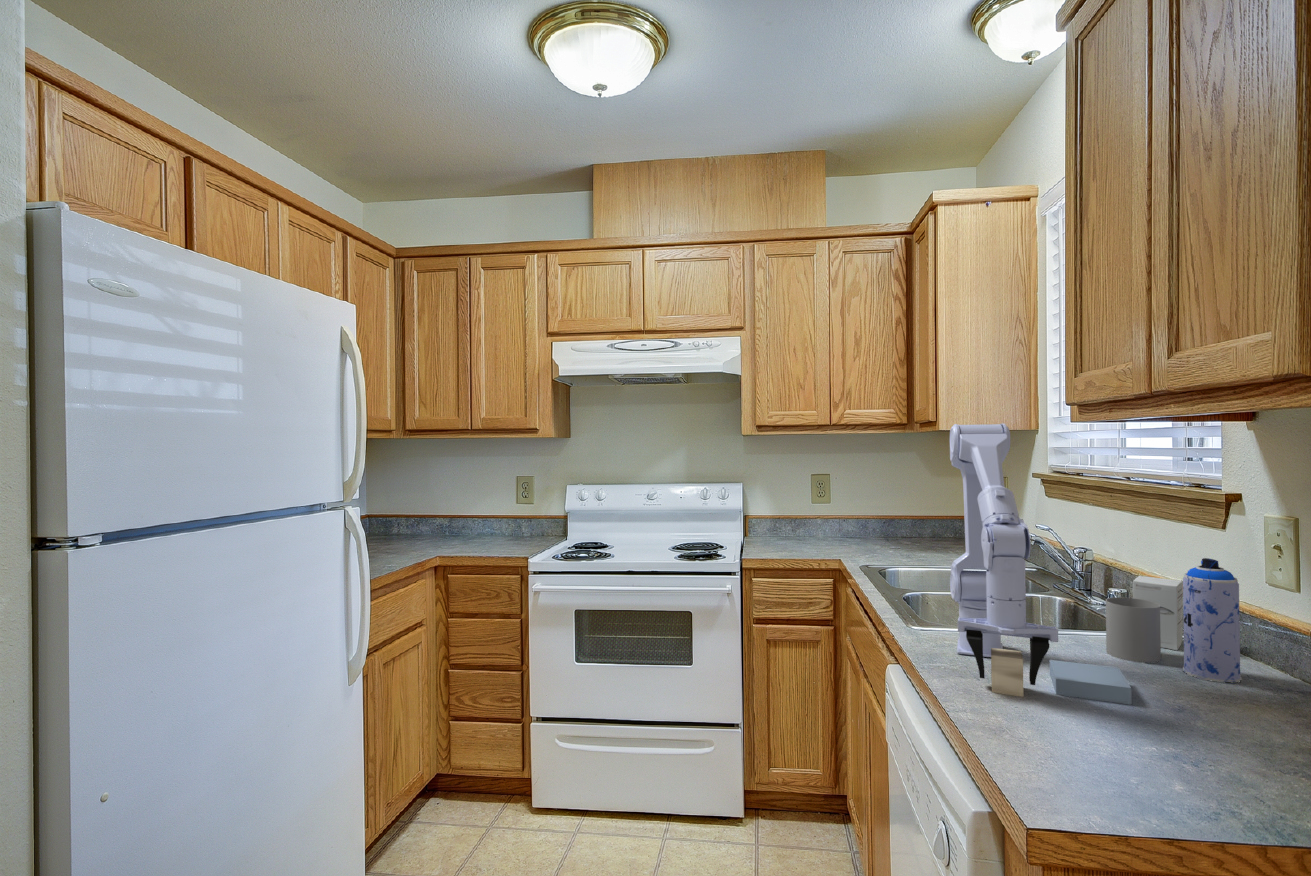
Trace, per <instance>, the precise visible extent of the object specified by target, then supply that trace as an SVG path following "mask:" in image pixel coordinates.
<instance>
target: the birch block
mask: <svg viewBox="0 0 1311 876" xmlns="http://www.w3.org/2000/svg"><path fill="white" fill-rule="evenodd" d="M990 666H991V668H990V670H991V671H990V672H991V673H990V674H991V676H990V677H991V680H990V681H991V693H995V694H1003V695H1009V696H1016V697H1022V698H1023V697H1024V657H1023V652H1022V651H1021V650H1013V649H1005V648H1003V649H997V648H991V657H990Z"/></svg>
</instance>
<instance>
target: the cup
mask: <svg viewBox="0 0 1311 876" xmlns="http://www.w3.org/2000/svg"><path fill="white" fill-rule="evenodd" d="M1105 628H1106V629H1105V632H1106V633H1105V634H1106V635H1105V636H1106V637H1105V638H1106V639H1105V642H1106V643H1105V645H1106V649H1105V651H1106V654H1107V655H1109V656H1111V657H1113V658H1116V659H1119V660H1123V661H1128V662H1132V663H1133V662H1134V663H1142V662H1155V663H1158V661H1159V662H1161V661H1160V660H1162V654H1161V653H1162V651H1161V650H1162V647H1161V634H1160V605H1159V604H1157V603H1155V602H1152V601H1147V600H1142V599H1135V598H1133V597H1124V596H1123V597H1121V596H1116V597H1108V598H1105Z"/></svg>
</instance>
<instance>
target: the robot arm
mask: <svg viewBox="0 0 1311 876" xmlns="http://www.w3.org/2000/svg"><path fill="white" fill-rule="evenodd" d="M1010 449H1011V432H1010V428H1009V427H1008V426H1007V424H1006V423H999V424H998V423H995V424H988V423H987V424H986V423H985V424H984V423H983V424H958V423H955V424H953V425H952V426H951V428H950V430H949V459H950V462H951V466H952V467H953V468H956V469H958V470H960V474H961V478H962V486H963V487H962V488H963V491H962V492H963V493H962V494H963V513H964V515H963V516H964V517H963V518H964V541H965V542H964V544H965V552H964V553H963V554H962V555H960V556H958V557H957V558H956V559H954V560H953V561H952V562H951V565H950V575H949V588H950V596H951V599H952V600H953V601H954V602H955V603H958V614H959V615H958V618H957V632H959V637H958V638H957V645H956V653H957V654H959V655H960V654H961V655H967V656H968V655H969V656H974V658H975V662H976V665H977V667H978V672H979V678H980V679H985V662H984V657H986V658H991V648H997V649H1004V647H1003V643H1002V639H1001V638H1002V637H1001V636H1005V637H1015V638H1025V639H1029V651H1030V652H1029V655H1030V661H1029V662H1030V663H1029V673H1028V674H1029V675H1028V676H1029V679H1028V680H1029V685H1031V686H1036V681H1037V676H1038V672H1039V669H1040V667H1041V664H1042V662H1043V660H1044V658H1045V657H1046V655H1047V653H1048V652H1049V650H1050V642H1051V643H1059V630H1058V627H1057V626H1048V625H1043V624H1037V623H1030V622H1027V604H1026V603H1027V598H1026V597H1027V595H1026V593H1027V590H1026V589H1027V586H1026V560H1028V559H1029V557H1030V555H1031V542H1032V541H1031V534H1030V530H1029V527H1028V525H1027V523H1025V521H1024V519H1022V518H1020V515H1019V511H1018V506H1017V503H1016V499H1015V495H1014V492H1013V491H1012V490H1011V489H1009V488H1007V487H1005V478H1004V472H1003V462H1004V461H1005V460H1006V458H1007V455H1008V454H1009V452H1010ZM966 569H974V570H966ZM975 569H977V570H975ZM979 569H981V570H979Z"/></svg>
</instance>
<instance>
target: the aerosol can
mask: <svg viewBox="0 0 1311 876" xmlns="http://www.w3.org/2000/svg"><path fill="white" fill-rule="evenodd" d="M1200 564H1201V565H1197V566H1195V567H1192V568H1190V569H1189V570H1187V572H1186V573H1184V574H1183V578H1182V581H1183V666H1182V672H1183V671H1184V672H1185V674H1186V673H1187V674H1186V675H1188V676H1190V675H1191V677H1192V676H1194V677H1193V678H1195V677H1197V678H1196V679H1199V680H1203V681H1207V680H1212V681H1218V682H1217V683H1219V682H1238V683H1240V682H1239V681H1240V680H1242V679H1243V678H1242V675H1241V645H1240V644H1241V640H1240V639H1241V637H1240V636H1241V635H1240V633H1241V632H1240V631H1241V630H1240V584H1239V582H1238V581H1239V580H1238V578H1237V577H1235V576H1234V575H1233V574H1232V572H1230V571H1229V570H1226V569H1225V568H1224V567H1220V565H1219V560H1216V559H1213V558H1208V557H1207V558H1205V557H1204V558H1201V561H1200ZM1184 672H1183V673H1184ZM1212 681H1211V682H1212ZM1242 681H1243V680H1242Z"/></svg>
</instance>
